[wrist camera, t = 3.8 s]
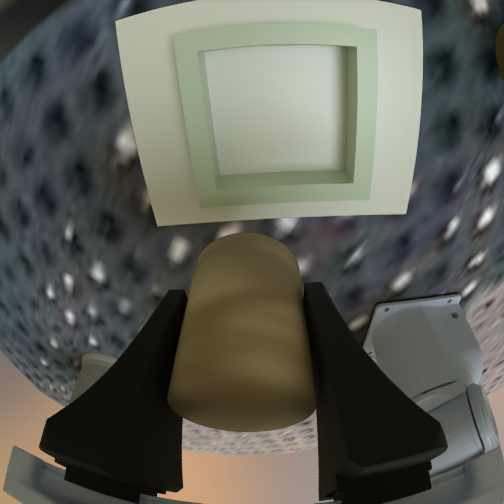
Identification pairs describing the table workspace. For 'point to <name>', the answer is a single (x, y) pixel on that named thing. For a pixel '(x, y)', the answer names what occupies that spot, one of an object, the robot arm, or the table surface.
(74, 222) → the table surface
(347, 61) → the socket board
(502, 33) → the cork
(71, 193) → the table surface
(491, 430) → the robot arm
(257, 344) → the maple peg
